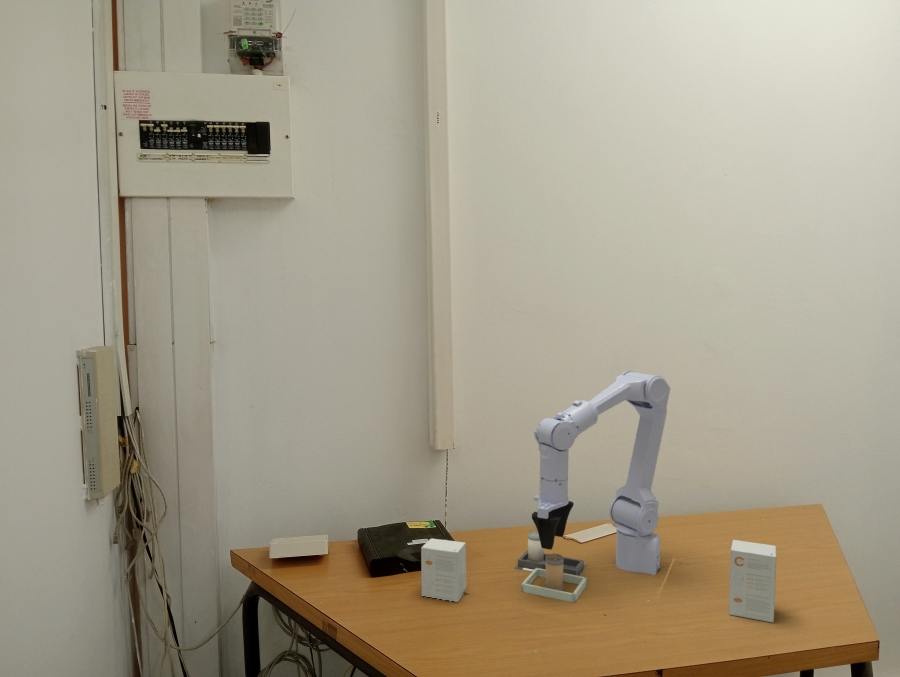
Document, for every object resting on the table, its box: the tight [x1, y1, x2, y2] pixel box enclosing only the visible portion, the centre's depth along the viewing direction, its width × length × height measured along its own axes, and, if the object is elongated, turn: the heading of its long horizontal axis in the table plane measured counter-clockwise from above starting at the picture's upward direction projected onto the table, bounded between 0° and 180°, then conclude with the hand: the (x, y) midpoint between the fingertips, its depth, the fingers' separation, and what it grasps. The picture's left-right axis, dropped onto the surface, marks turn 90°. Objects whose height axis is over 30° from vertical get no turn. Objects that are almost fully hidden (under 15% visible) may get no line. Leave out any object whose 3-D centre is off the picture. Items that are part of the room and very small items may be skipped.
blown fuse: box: [544, 553, 565, 591], centre depth 145 cm, size 4×4×7 cm
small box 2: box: [728, 539, 777, 624], centre depth 137 cm, size 8×6×13 cm
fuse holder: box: [513, 549, 588, 576], centre depth 156 cm, size 14×9×2 cm, turn 64°
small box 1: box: [420, 537, 467, 603], centre depth 144 cm, size 8×6×10 cm
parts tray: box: [520, 568, 588, 603], centre depth 145 cm, size 11×9×2 cm
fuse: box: [527, 529, 545, 563], centre depth 157 cm, size 4×4×7 cm
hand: (552, 542), depth 145 cm, fingers open, 7 cm apart
